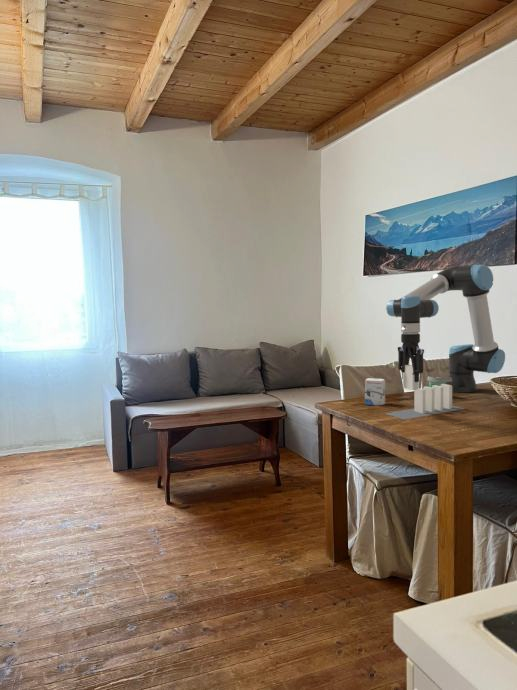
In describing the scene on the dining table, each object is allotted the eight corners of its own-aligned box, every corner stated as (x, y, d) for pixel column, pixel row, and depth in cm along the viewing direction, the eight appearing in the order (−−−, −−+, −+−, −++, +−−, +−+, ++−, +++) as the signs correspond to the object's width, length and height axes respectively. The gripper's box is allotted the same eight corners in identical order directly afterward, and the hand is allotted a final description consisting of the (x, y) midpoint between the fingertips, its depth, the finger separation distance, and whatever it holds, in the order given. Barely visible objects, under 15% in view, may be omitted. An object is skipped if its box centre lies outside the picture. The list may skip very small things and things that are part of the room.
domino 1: (407, 387, 222) (407, 364, 221) (416, 389, 217) (416, 366, 216) (404, 388, 221) (404, 364, 220) (413, 390, 217) (413, 366, 216)
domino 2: (417, 410, 225) (417, 387, 224) (425, 412, 221) (425, 389, 220) (414, 411, 225) (414, 388, 223) (422, 413, 220) (422, 390, 219)
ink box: (364, 405, 242) (364, 380, 240) (367, 402, 246) (366, 378, 245) (383, 406, 238) (383, 380, 237) (385, 403, 243) (385, 378, 241)
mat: (444, 404, 237) (444, 403, 236) (465, 410, 226) (465, 408, 226) (384, 414, 222) (384, 413, 222) (403, 420, 211) (403, 419, 211)
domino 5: (443, 406, 232) (443, 383, 230) (452, 408, 227) (452, 385, 226) (440, 406, 231) (440, 384, 230) (449, 408, 226) (449, 386, 225)
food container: (422, 396, 256) (422, 376, 254) (428, 394, 260) (428, 374, 258) (445, 399, 246) (445, 379, 245) (452, 397, 250) (452, 377, 249)
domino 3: (426, 409, 227) (426, 386, 226) (434, 411, 223) (434, 388, 222) (423, 409, 227) (423, 386, 226) (431, 411, 222) (431, 388, 221)
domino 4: (434, 407, 229) (434, 385, 228) (443, 409, 225) (443, 387, 224) (432, 408, 229) (432, 385, 228) (440, 410, 224) (440, 387, 223)
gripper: (389, 332, 223) (389, 386, 226) (418, 335, 207) (418, 393, 210) (402, 331, 227) (403, 384, 229) (433, 334, 210) (432, 390, 213)
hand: (410, 388), depth 219 cm, fingers closed on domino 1, 5 cm apart
